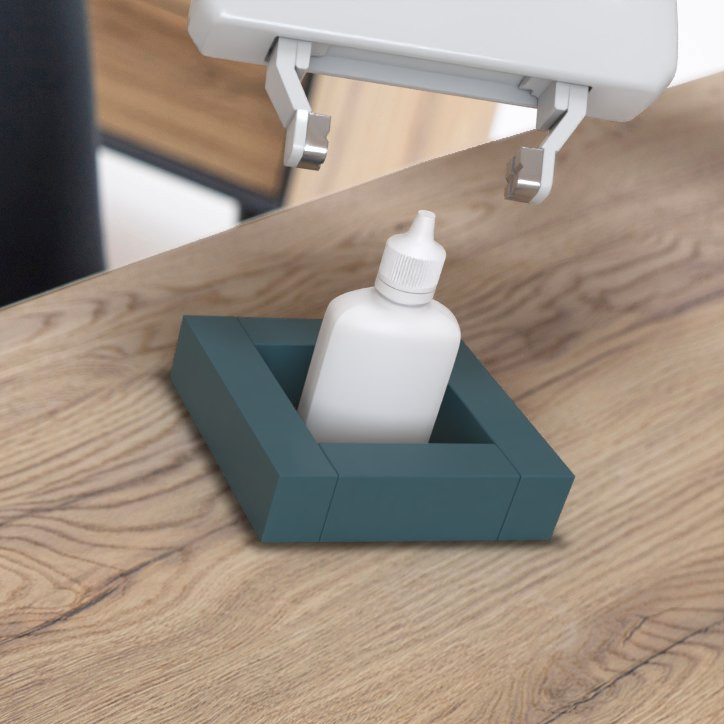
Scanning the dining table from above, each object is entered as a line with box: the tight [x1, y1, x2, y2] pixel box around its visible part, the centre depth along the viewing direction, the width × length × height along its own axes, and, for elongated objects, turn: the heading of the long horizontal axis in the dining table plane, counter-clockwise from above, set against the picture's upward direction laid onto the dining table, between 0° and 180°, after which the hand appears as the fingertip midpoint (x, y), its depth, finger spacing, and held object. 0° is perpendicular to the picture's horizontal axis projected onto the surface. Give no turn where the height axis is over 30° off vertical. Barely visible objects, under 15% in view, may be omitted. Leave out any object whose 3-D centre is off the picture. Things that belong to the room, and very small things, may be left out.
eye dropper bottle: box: [296, 209, 462, 444], centre depth 72 cm, size 4×6×12 cm
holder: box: [169, 314, 576, 543], centre depth 74 cm, size 13×13×4 cm
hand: (416, 181), depth 71 cm, fingers open, 8 cm apart
